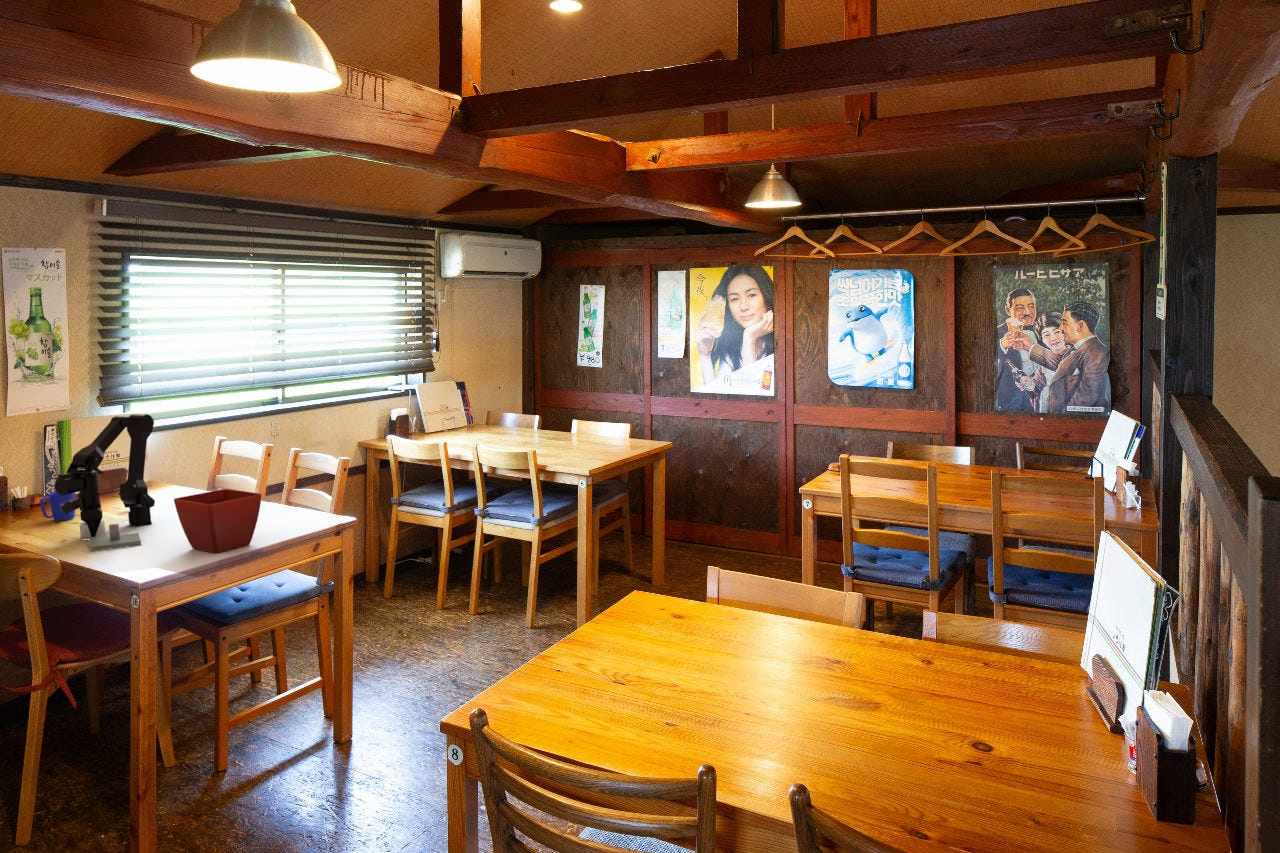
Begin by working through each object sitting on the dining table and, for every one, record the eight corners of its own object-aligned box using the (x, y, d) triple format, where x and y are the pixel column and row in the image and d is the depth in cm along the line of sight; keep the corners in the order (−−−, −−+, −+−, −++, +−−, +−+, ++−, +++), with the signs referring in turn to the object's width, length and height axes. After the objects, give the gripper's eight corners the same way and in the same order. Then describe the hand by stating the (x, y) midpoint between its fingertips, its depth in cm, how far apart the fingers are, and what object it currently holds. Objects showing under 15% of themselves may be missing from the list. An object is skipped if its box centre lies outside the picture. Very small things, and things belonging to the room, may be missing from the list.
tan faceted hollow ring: (105, 533, 312) (104, 519, 311) (106, 538, 306) (104, 523, 305) (80, 536, 308) (79, 522, 308) (81, 541, 302) (79, 526, 301)
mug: (35, 523, 328) (32, 496, 327) (67, 515, 339) (64, 489, 338) (50, 525, 325) (48, 497, 324) (82, 517, 336) (80, 491, 335)
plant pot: (229, 536, 307) (225, 487, 305) (266, 543, 298) (263, 493, 295) (176, 550, 291) (172, 498, 289) (213, 558, 281) (209, 504, 279)
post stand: (138, 537, 307) (137, 518, 306) (141, 545, 297) (139, 525, 296) (90, 543, 300) (88, 523, 299) (91, 551, 290) (89, 531, 289)
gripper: (60, 487, 308) (65, 532, 311) (60, 497, 293) (64, 544, 295) (98, 483, 314) (102, 527, 316) (100, 493, 299) (104, 539, 301)
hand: (93, 534), depth 307 cm, fingers closed on tan faceted hollow ring, 7 cm apart
